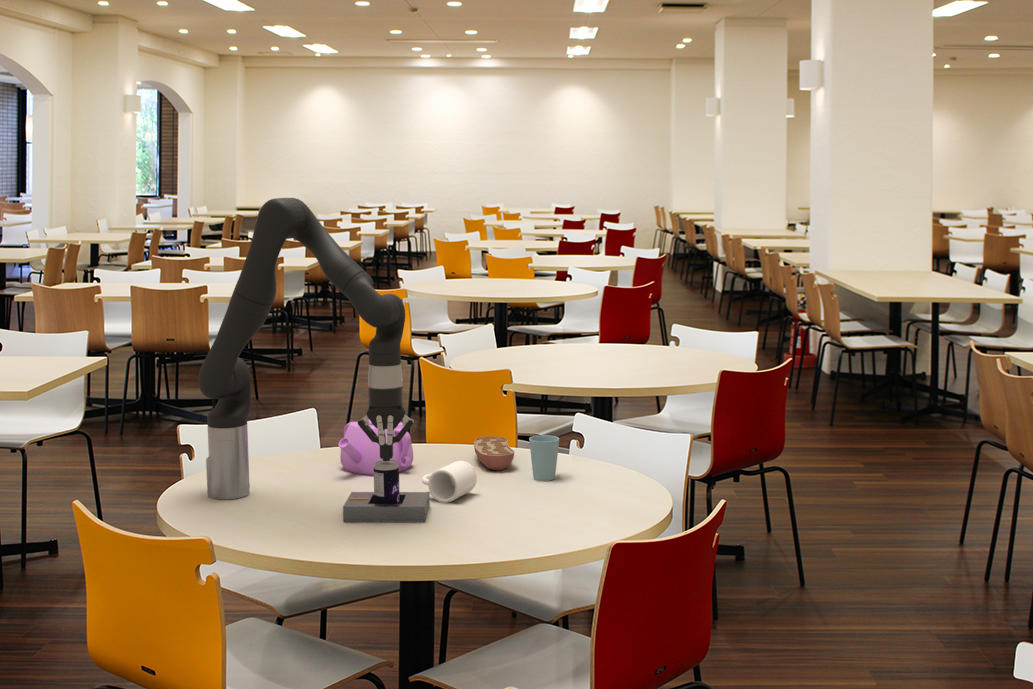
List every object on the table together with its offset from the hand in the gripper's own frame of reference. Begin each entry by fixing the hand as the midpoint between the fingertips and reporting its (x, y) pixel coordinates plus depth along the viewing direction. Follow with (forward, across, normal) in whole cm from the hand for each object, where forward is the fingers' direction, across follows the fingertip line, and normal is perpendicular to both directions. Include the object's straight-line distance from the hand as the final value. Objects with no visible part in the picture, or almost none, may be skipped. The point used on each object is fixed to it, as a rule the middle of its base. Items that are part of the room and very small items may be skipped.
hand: (386, 460), depth 240 cm
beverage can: (+13, 0, 0) cm, 13 cm away
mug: (+13, +12, +15) cm, 23 cm away
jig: (+12, 0, 0) cm, 13 cm away
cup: (+13, +36, +32) cm, 50 cm away
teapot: (+13, -9, +41) cm, 44 cm away
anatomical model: (+13, +22, +48) cm, 55 cm away
